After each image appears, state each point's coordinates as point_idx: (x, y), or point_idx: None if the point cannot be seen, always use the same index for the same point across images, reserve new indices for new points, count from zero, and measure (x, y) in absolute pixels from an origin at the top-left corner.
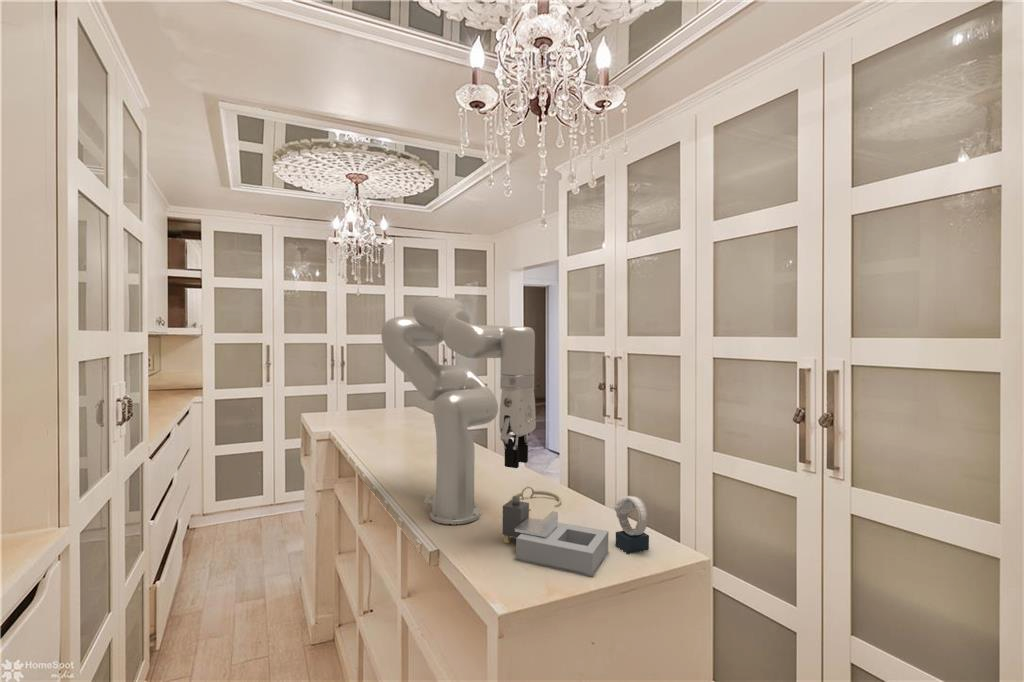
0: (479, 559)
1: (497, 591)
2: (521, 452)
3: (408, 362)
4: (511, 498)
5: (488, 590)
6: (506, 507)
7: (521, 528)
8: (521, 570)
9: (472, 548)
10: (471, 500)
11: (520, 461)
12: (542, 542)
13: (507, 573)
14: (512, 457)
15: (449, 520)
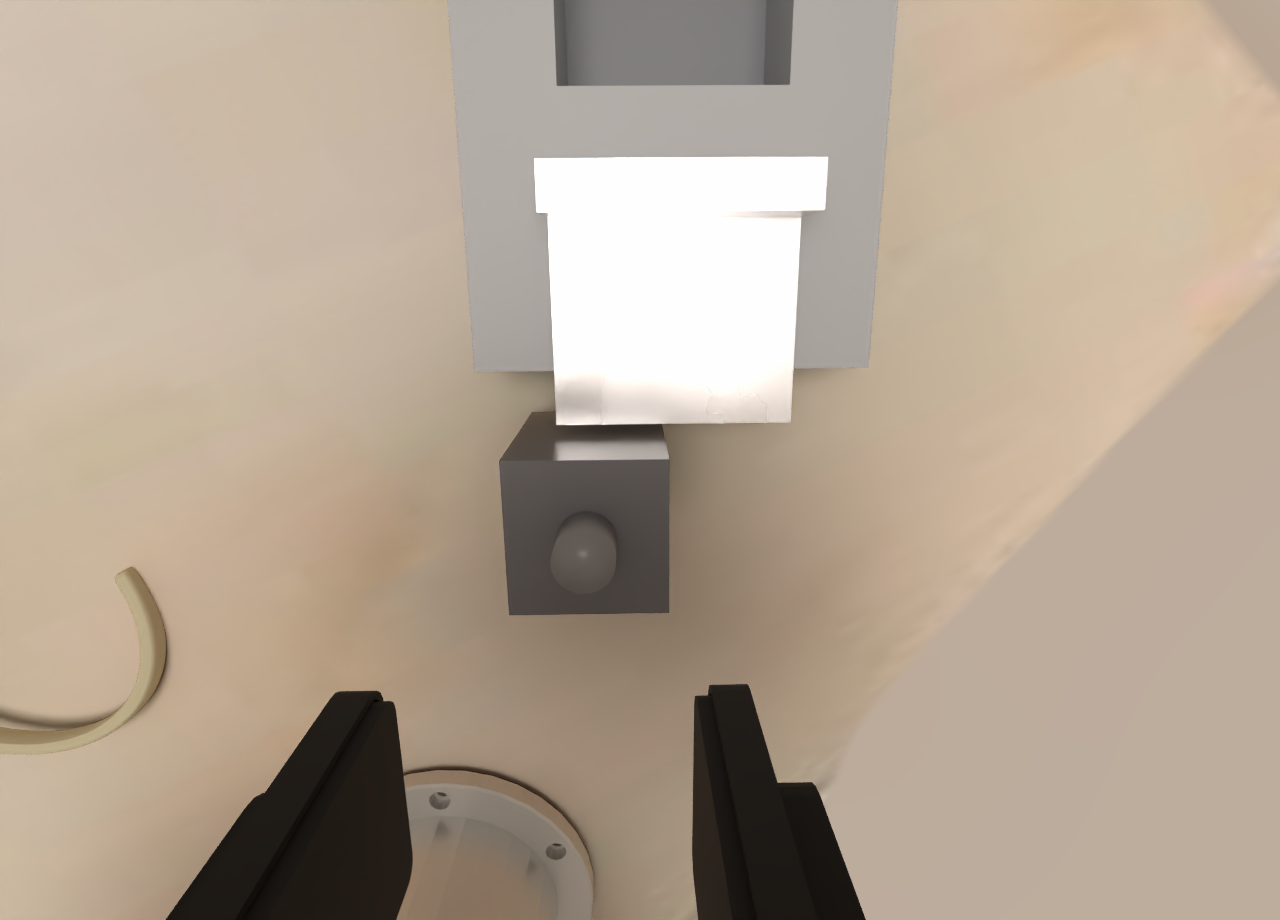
0: (891, 523)
1: (1179, 286)
2: (341, 903)
3: None
4: (71, 742)
5: (1181, 331)
6: (667, 579)
7: (768, 381)
8: (930, 271)
9: (787, 613)
10: (419, 887)
11: (399, 784)
12: (869, 171)
13: (987, 325)
14: (841, 879)
15: (581, 864)
